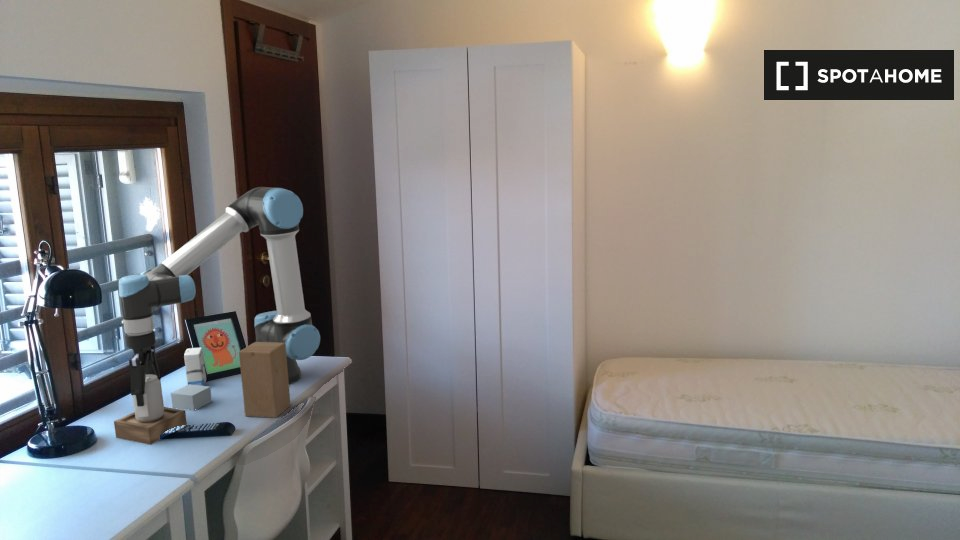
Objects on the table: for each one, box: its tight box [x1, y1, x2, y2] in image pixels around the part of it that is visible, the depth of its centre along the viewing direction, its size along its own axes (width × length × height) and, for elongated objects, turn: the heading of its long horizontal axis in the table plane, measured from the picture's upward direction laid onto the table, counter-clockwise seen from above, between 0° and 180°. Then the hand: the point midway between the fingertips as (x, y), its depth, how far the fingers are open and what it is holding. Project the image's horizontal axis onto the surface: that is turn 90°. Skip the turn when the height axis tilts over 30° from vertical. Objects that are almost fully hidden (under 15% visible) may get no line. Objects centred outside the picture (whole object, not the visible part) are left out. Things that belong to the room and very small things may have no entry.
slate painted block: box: [170, 384, 213, 411], centre depth 230 cm, size 8×8×5 cm
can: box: [132, 374, 165, 422], centre depth 208 cm, size 8×8×12 cm
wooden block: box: [238, 341, 291, 419], centre depth 221 cm, size 10×10×20 cm
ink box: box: [183, 347, 207, 386], centre depth 247 cm, size 9×5×12 cm, turn 13°
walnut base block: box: [113, 406, 188, 445], centre depth 210 cm, size 13×13×5 cm
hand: (149, 409), depth 209 cm, fingers open, 9 cm apart
